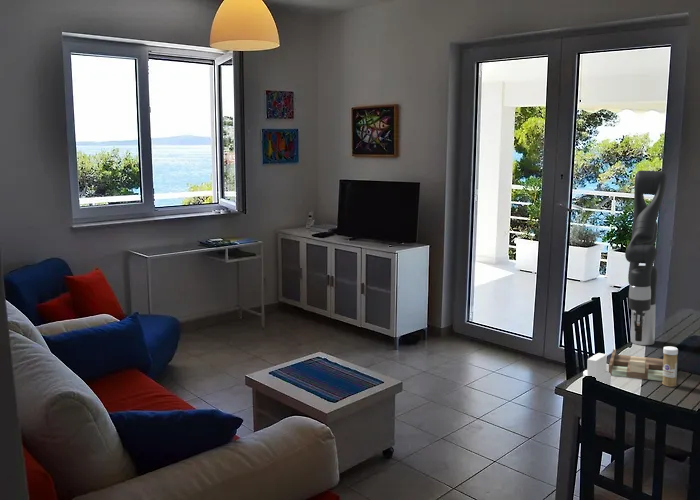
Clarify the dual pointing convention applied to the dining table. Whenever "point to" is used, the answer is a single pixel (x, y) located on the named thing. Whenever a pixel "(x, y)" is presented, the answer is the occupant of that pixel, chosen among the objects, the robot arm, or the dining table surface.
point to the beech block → (637, 364)
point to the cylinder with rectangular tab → (598, 368)
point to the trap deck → (622, 368)
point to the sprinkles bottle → (670, 366)
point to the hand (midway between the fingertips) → (638, 340)
